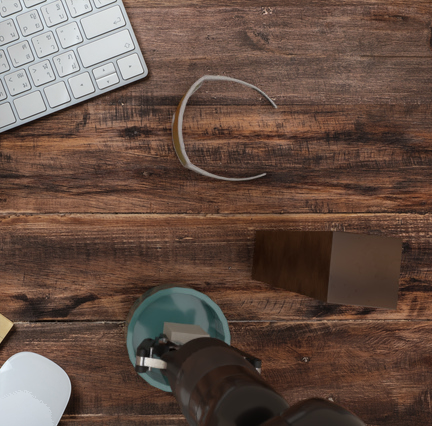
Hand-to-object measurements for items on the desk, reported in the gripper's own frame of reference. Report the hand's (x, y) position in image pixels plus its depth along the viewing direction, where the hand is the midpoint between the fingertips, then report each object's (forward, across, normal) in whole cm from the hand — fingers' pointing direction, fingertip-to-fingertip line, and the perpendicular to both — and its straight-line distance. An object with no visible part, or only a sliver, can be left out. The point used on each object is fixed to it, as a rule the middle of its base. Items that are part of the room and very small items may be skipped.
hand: (181, 343), depth 60 cm
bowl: (+7, 0, 0) cm, 7 cm away
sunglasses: (+7, +4, +29) cm, 30 cm away
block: (+1, 0, 0) cm, 1 cm away
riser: (+7, +14, +12) cm, 20 cm away
